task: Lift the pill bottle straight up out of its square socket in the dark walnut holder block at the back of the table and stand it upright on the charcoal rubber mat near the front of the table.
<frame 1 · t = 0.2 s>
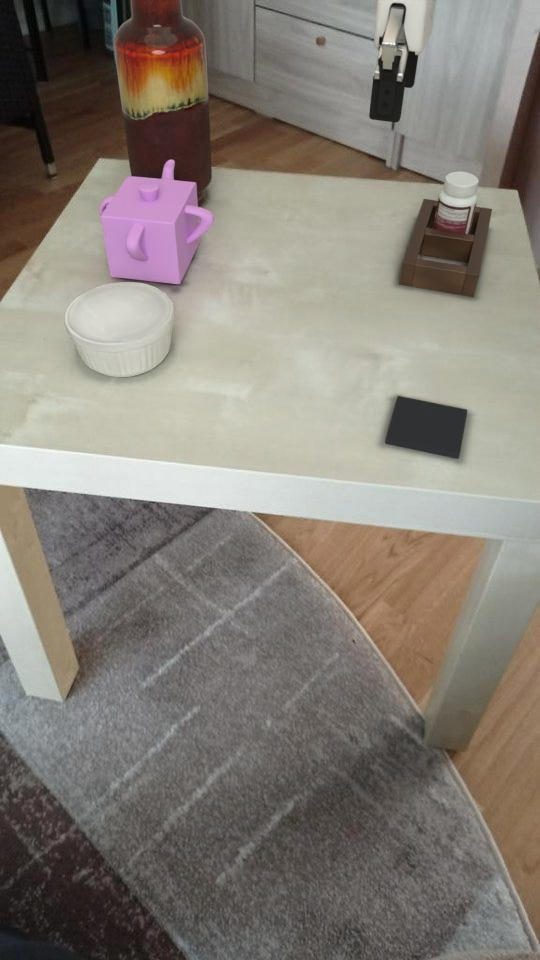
hand: (392, 102, 79), 19 cm above the table, tool pointing down, fingers open, 9 cm apart
ramekin: (126, 353, 80), on the table
mat: (426, 428, 72), on the table
teapot: (163, 263, 92), on the table
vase: (173, 198, 103), on the table
holder: (445, 255, 93), on the table
pill bottle: (448, 242, 96), resting in holder
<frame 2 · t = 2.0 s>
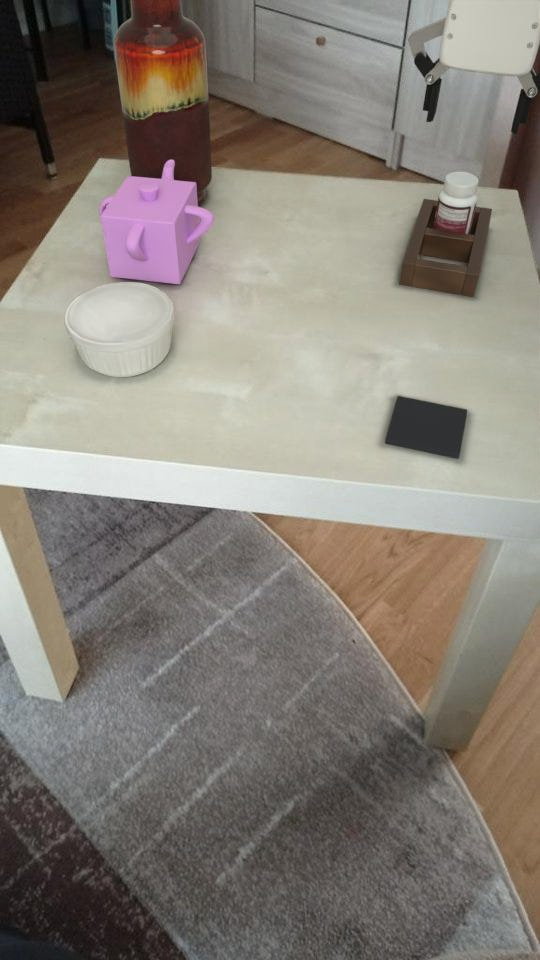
hand: (472, 123, 85), 15 cm above the table, tool pointing down, fingers open, 9 cm apart
nothing on the table moved.
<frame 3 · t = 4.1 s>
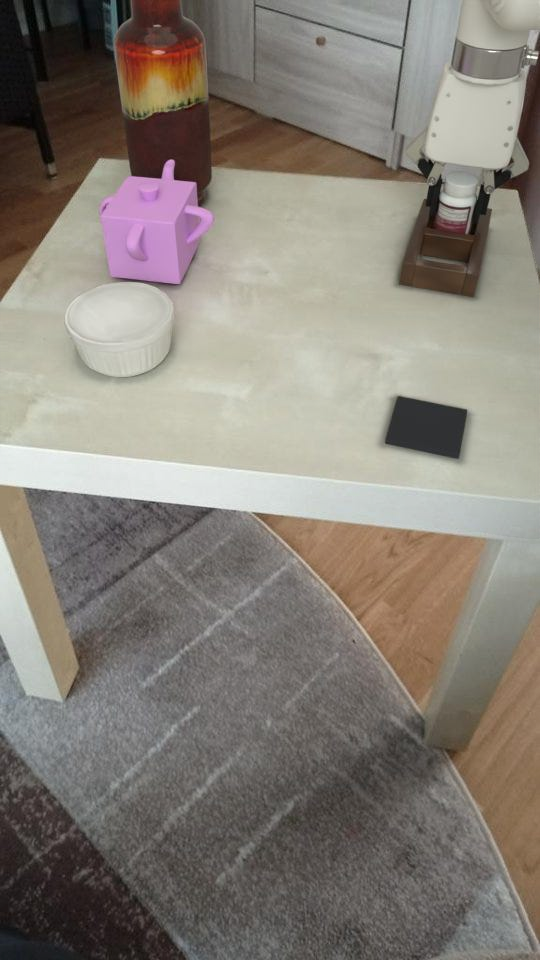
hand: (454, 213, 93), 4 cm above the table, tool pointing down, fingers closed on pill bottle, 4 cm apart
pill bottle: (448, 242, 96), resting in holder, touching gripper
everything else where it was.
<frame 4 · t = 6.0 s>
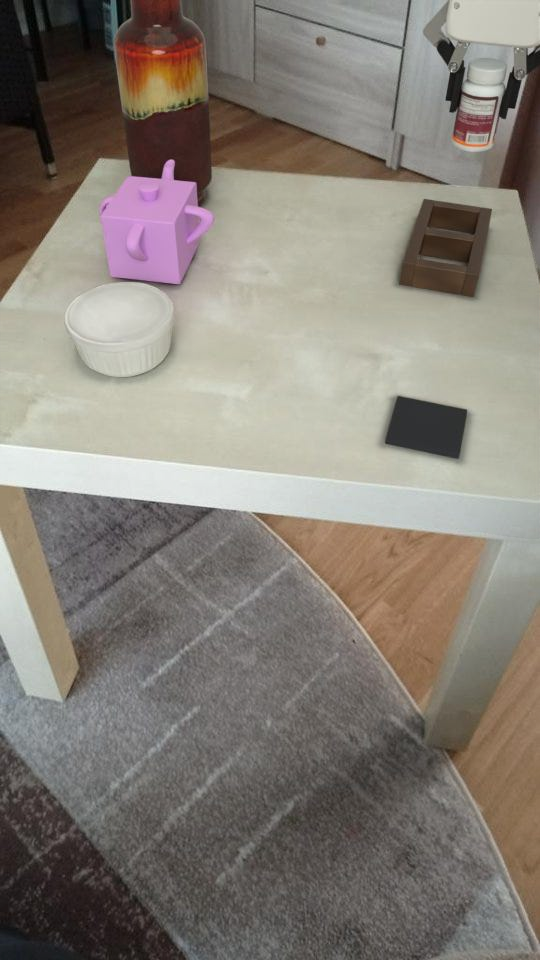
hand: (478, 109, 81), 17 cm above the table, tool pointing down, fingers closed on pill bottle, 4 cm apart
pill bottle: (471, 146, 84), point 13 cm above the table, touching gripper
everything else where it was.
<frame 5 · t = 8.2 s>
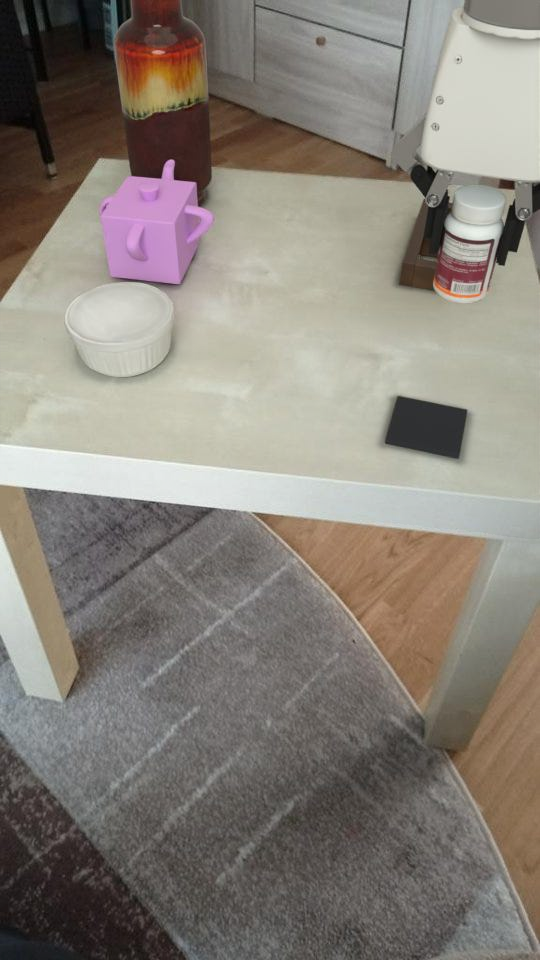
hand: (468, 249, 61), 18 cm above the table, tool pointing down, fingers closed on pill bottle, 4 cm apart
pill bottle: (459, 291, 63), point 14 cm above the table, touching gripper
everything else where it was.
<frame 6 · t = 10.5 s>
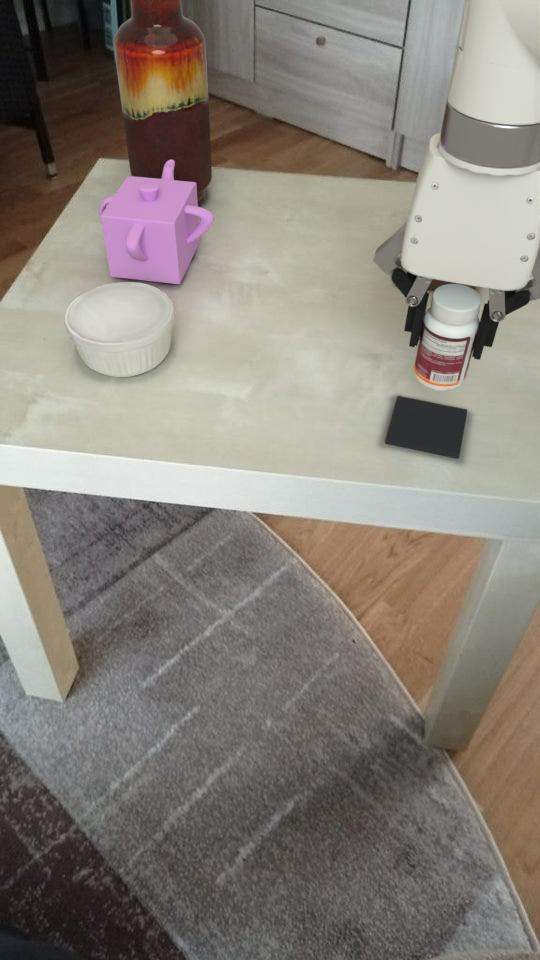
hand: (446, 342, 64), 10 cm above the table, tool pointing down, fingers closed on pill bottle, 4 cm apart
pill bottle: (438, 376, 67), point 6 cm above the table, touching gripper
everything else where it was.
when the fingers open (4 cm above the table, at t = 12.5 s): pill bottle stays where it is, resting on mat.
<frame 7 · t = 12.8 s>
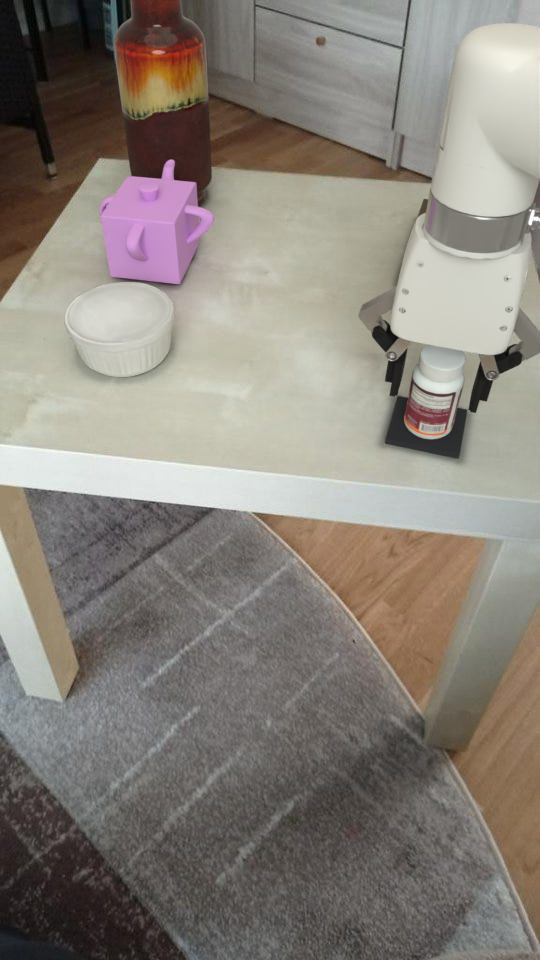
hand: (434, 393, 69), 4 cm above the table, tool pointing down, fingers open, 6 cm apart
pill bottle: (427, 425, 72), resting on mat
everything else where it was.
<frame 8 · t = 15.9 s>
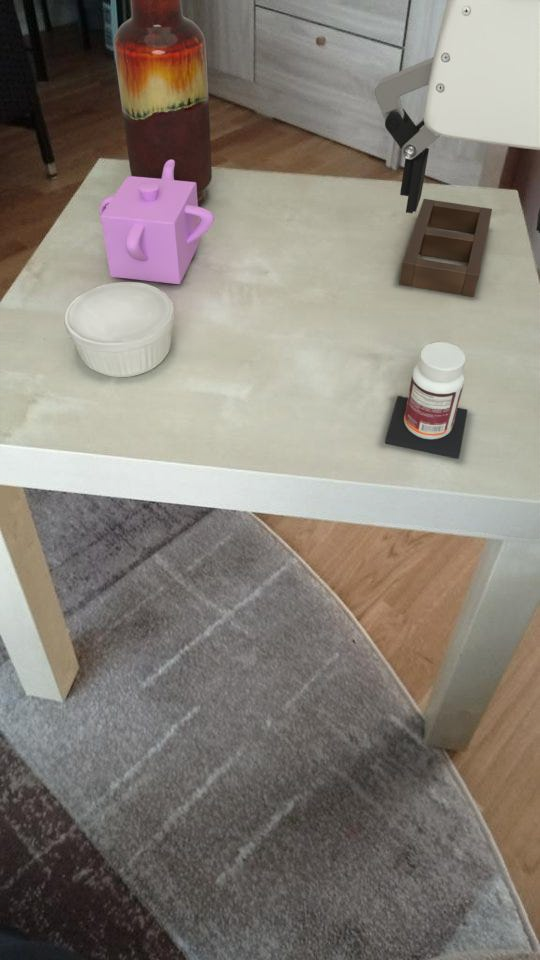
hand: (476, 214, 55), 22 cm above the table, tool pointing down, fingers open, 9 cm apart
nothing on the table moved.
at the end: pill bottle inside the target area on the mat (0.0 cm from its centre), point 0.4 cm above the mat's base; pill bottle tilted 0°; the gripper is holding nothing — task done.
